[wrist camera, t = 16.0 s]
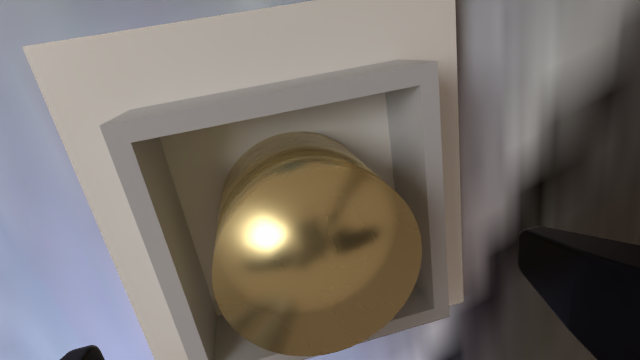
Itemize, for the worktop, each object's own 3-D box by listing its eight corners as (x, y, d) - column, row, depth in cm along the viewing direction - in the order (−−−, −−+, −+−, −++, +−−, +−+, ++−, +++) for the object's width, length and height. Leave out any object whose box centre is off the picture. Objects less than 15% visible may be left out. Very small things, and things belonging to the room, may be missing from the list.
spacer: (359, 117, 12) (415, 147, 8) (376, 250, 14) (427, 325, 10) (202, 149, 11) (183, 196, 7) (240, 285, 13) (240, 379, 9)
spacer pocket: (444, -19, 12) (512, -42, 9) (455, 292, 16) (503, 346, 13) (33, 47, 10) (-50, 44, 7) (169, 374, 14) (151, 457, 11)
